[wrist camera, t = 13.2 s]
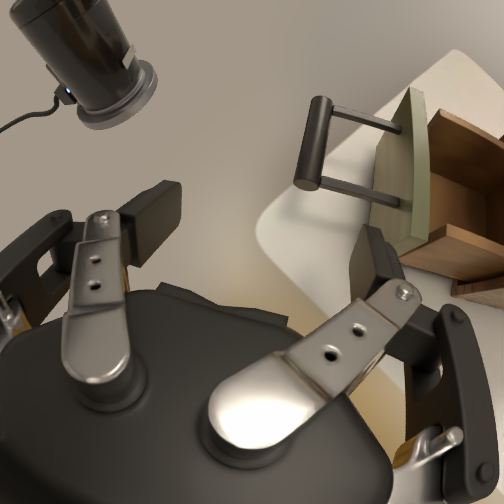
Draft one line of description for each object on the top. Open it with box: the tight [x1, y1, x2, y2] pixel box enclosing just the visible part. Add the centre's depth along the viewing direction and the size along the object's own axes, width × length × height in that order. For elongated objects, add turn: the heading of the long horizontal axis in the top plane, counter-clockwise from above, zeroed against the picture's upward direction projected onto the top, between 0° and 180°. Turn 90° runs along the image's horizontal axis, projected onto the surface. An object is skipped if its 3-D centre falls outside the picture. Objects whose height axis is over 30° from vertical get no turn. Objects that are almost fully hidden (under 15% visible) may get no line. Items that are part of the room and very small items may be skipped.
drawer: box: [293, 87, 504, 283], centre depth 18 cm, size 20×12×9 cm, turn 75°
